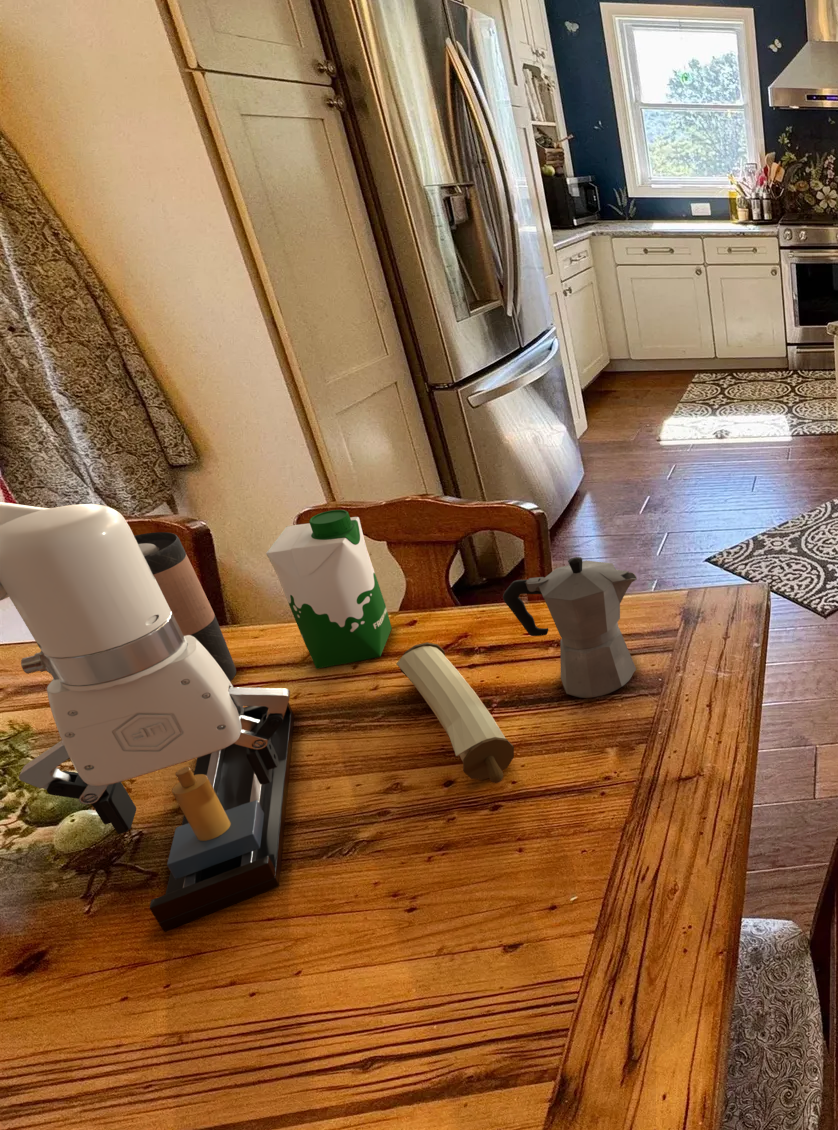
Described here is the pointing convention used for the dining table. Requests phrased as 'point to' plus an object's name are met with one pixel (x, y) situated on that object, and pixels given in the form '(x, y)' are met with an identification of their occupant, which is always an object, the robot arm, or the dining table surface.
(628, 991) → the dining table surface
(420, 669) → the cream curved cylinder
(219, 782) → the rail
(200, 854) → the sliding carriage
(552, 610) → the coffeepot
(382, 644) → the milk carton
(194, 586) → the travel mug
